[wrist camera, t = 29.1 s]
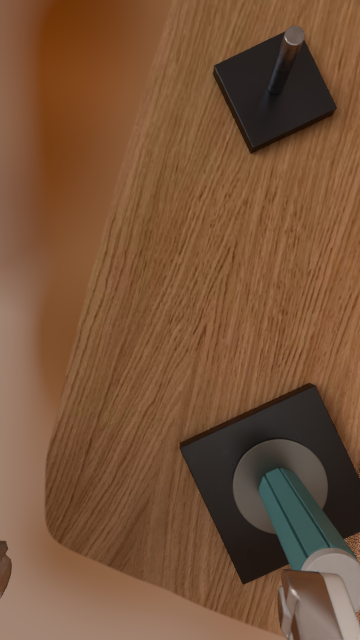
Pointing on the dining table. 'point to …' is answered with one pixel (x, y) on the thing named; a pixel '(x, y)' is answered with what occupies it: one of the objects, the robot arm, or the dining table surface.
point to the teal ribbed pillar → (308, 531)
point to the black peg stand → (274, 89)
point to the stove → (262, 457)
